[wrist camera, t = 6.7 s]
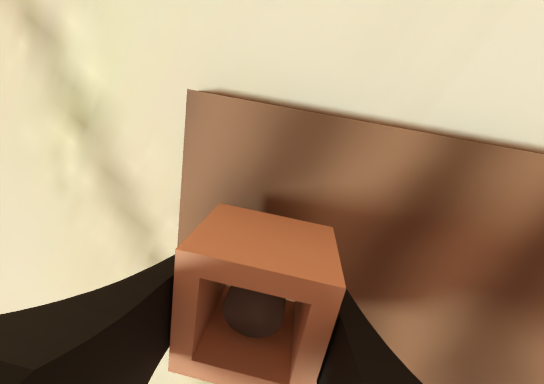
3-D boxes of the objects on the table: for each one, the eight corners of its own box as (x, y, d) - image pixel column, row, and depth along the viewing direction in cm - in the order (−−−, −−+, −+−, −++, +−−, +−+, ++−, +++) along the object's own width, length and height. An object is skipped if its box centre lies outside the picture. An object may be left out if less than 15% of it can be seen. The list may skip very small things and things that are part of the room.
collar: (333, 227, 11) (346, 288, 7) (307, 318, 13) (307, 408, 9) (219, 202, 11) (175, 249, 8) (209, 294, 13) (168, 370, 9)
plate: (694, 181, 11) (1051, 246, 6) (532, 404, 15) (648, 556, 10) (196, 90, 12) (116, 75, 7) (180, 316, 17) (122, 408, 12)
